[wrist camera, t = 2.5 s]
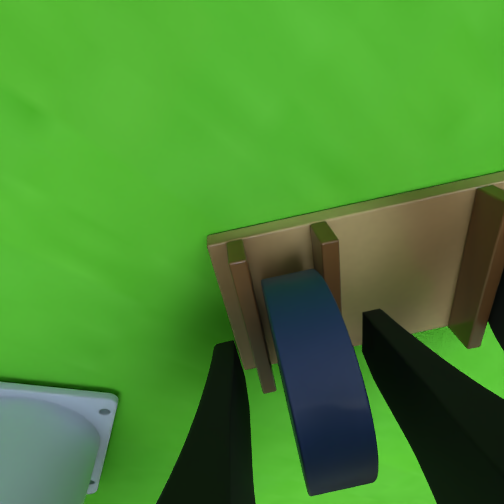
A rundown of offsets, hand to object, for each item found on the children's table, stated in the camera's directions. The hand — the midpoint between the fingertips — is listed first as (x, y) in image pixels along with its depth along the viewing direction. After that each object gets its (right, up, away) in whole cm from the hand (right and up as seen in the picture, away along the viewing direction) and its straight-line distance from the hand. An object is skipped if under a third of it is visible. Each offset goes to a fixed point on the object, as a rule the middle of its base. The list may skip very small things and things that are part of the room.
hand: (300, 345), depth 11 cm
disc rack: (+4, +3, +3) cm, 5 cm away
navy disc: (0, +1, +2) cm, 2 cm away
